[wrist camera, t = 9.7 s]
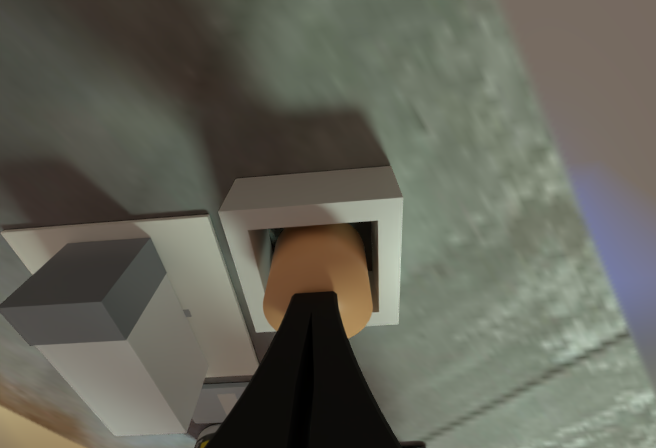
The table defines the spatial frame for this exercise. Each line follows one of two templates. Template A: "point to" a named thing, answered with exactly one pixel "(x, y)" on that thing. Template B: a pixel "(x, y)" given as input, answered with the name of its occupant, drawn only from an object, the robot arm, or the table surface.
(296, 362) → the robot arm
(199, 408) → the card
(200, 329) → the paper sheet
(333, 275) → the button
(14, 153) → the table surface
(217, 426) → the supplement bottle
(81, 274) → the grey rectangular prism
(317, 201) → the button box
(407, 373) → the table surface
